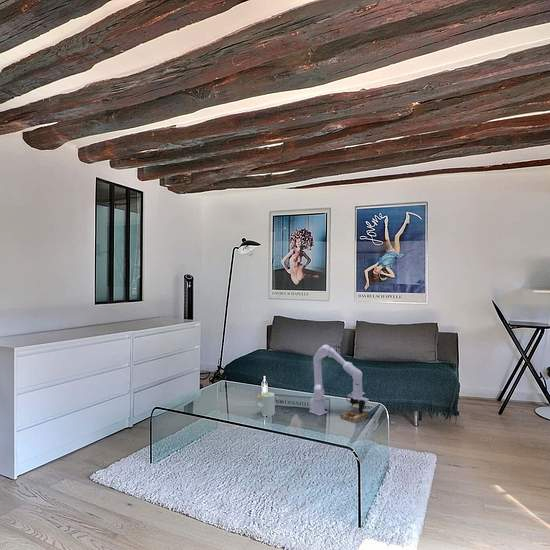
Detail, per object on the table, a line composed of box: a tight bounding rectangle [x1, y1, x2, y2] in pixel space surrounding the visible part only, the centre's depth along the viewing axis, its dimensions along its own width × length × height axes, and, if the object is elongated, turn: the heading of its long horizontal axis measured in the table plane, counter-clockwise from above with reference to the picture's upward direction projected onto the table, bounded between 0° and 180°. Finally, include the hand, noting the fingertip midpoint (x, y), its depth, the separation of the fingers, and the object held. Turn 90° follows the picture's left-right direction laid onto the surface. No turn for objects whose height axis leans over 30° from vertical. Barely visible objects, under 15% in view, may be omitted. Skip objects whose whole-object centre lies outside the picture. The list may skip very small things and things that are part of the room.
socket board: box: [340, 408, 370, 424], centre depth 259 cm, size 11×14×3 cm
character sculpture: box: [256, 391, 277, 415], centre depth 267 cm, size 20×12×13 cm, turn 145°
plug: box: [352, 403, 362, 414], centre depth 261 cm, size 4×4×7 cm
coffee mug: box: [346, 391, 365, 404], centre depth 276 cm, size 12×9×10 cm
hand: (357, 411), depth 261 cm, fingers closed on plug, 4 cm apart
